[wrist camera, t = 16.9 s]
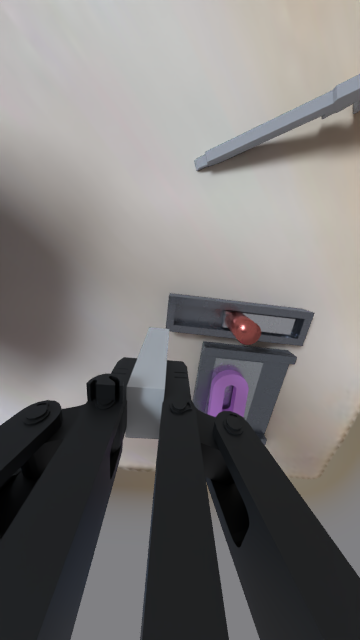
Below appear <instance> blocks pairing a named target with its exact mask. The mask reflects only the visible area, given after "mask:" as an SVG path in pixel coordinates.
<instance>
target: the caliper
mask: <svg viewBox="0 0 360 640" xmlns="http://www.w3.org/2000/svg"><path fill="white" fill-rule="evenodd" d="M352 104H353V114H355V113H357V112H359V111H360V74H359V75H357V76H355V77H353V78H351V79H349V80H347V81H345V82H343V83H341V84H339V85H337V86H336V87H335V88H334V89H333V90H332V91H330V92H328V93H326V94H324V95H322V96H319V97H317V98H315V99H313V100H311V101H309V102H307V103H305V104H303V105H301V106H299V107H297V108H295V109H293V110H290V111H288V112H286V113H284V114H282V115H280V116H278V117H276V118H274V119H272V120H270V121H268V122H266V123H264V124H261V125H259V126H257V127H255V128H253V129H251V130H249V131H247V132H245V133H243V134H241V135H239V136H237V137H235V138H233V139H231V140H228V141H226V142H224V143H222V144H220V145H218V146H216V147H214V148H212V149H210V150H208V151H206V152H205V155H203V156H201V157H199V158H197V159H196V160H195V161H194V162H195V166H196V171H198V170H200V169H202V168H204V167H209V166H211V165H214V164H217V163H220V162H222V161H224V160H226V159H229V158H231V157H233V156H235V155H237V154H240V153H242V152H244V151H246V150H248V149H250V148H253V147H255V146H257V145H259V144H261V143H263V142H266V141H268V140H270V139H272V138H274V137H277V136H279V135H281V134H283V133H285V132H288V131H290V130H292V129H294V128H296V127H299V126H301V125H303V124H305V123H307V122H310V121H312V120H314V119H316V118H318V117H322V119H324V118H326V117H328V116H330V115H332V114H334V113H337V112H339V111H341V110H343V109H345V108H347V107H348V106H350V105H352Z"/></svg>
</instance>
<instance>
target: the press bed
mask: <svg viewBox="0 0 360 640" xmlns="http://www.w3.org/2000/svg"><path fill="white" fill-rule="evenodd" d="M296 359H297V357H296V356H295V355H293V354H292V353H291V352H289V351H288V350H279V349H270V348H261V347H252V346H243V345H233V344H224V343H215V342H206V341H203V344H202V350H201V356H200V362H199V367H198V373H197V379H196V385H195V390H194V396H193V403H194V406H195V407H196V408H197V409H198V410H200V411H201V412H203V413H206V414H207V413H208V405H209V398H210V390H211V383H212V380H213V378H214V377H215V376H216V375H217V374H218V373H219V372H221V371H224V370H235V371H237V372H239V373H240V374H241V375H242V376H243V377H244V379H245V380H246V382H247V384H248V388H249V390H248V396H247V401H246V407H245V412H244V417H243V418H244V419H245V420H246V421H247V422H248V423H249V425H250V426H251V427H252V429H253V430H254V431H255V433H256V434H257V436H258V437H259V438H260V440H261V441H262V443H263V444H264V445H265V444H266V441H267V439H266V437H265V435H264V434H265V431H266V428H267V425H268V423H269V420H270V417H271V414H272V411H273V408H274V406H275V403H276V400H277V397H278V394H279V392H280V389H281V386H282V383H283V380H284V377H285V375H286V372H287V369H288V366H289V364H295V362H296ZM233 387H234V386H233V385H230V386H227V387H226V388H225V392H224V399H223V405H222V409H228V408H229V407H230V405H231V399H232V393H233Z"/></svg>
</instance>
